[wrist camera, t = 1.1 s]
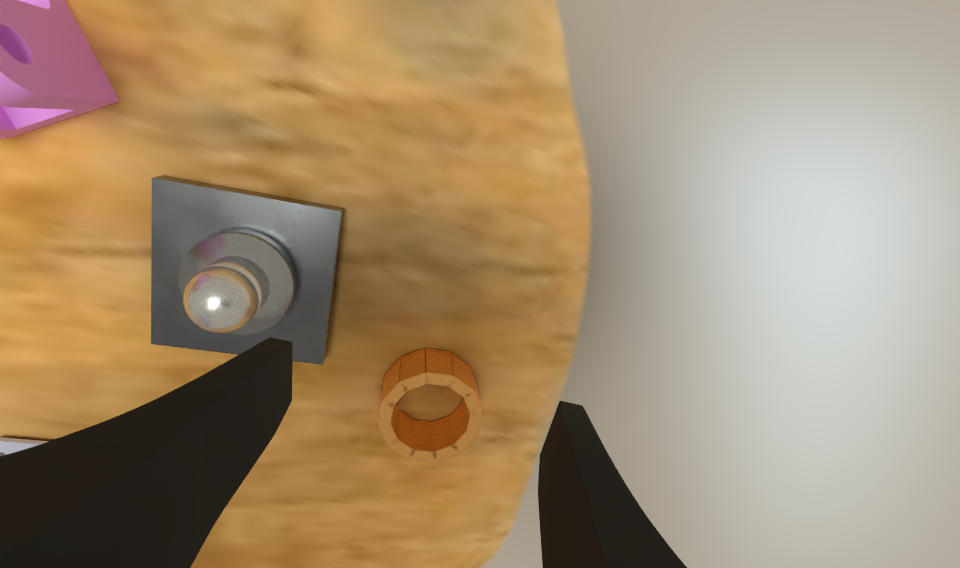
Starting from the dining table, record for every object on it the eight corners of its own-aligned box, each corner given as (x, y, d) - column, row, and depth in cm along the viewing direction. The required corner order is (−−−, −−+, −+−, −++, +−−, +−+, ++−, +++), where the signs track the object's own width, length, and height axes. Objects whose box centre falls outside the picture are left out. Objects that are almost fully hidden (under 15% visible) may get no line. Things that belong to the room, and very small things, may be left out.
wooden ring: (465, 434, 31) (470, 465, 29) (376, 425, 30) (372, 456, 28) (483, 355, 30) (490, 380, 27) (389, 343, 29) (386, 367, 26)
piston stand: (325, 356, 28) (304, 409, 23) (160, 336, 27) (97, 388, 22) (344, 208, 26) (325, 230, 21) (162, 175, 24) (91, 190, 19)
